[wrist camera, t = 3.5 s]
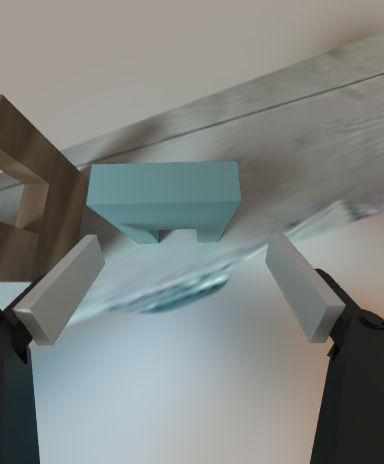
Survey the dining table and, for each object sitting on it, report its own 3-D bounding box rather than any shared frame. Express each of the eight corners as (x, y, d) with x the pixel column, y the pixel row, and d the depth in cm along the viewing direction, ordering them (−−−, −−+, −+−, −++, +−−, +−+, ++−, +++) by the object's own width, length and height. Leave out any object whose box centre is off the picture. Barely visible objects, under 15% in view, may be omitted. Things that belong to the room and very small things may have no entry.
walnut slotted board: (50, 282, 22) (-102, 280, 11) (68, 178, 26) (-30, 95, 15) (71, 282, 22) (-59, 279, 11) (86, 178, 26) (2, 94, 15)
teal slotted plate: (138, 243, 24) (86, 204, 12) (139, 221, 24) (91, 164, 13) (217, 241, 24) (241, 201, 12) (216, 219, 24) (237, 161, 13)
